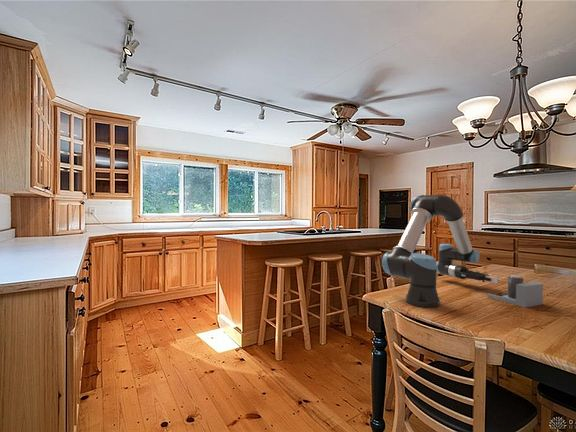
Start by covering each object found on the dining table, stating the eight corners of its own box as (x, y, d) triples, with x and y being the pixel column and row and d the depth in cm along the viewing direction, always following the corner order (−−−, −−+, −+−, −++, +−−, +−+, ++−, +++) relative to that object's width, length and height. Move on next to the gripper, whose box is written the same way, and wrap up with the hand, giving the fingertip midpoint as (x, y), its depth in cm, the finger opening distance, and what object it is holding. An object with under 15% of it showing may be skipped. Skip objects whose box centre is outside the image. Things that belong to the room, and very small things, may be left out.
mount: (524, 307, 137) (525, 286, 137) (486, 296, 154) (487, 277, 154) (542, 304, 142) (543, 283, 141) (503, 294, 158) (504, 275, 158)
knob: (518, 303, 142) (519, 278, 142) (501, 298, 149) (502, 274, 149) (529, 301, 145) (529, 277, 144) (511, 296, 152) (512, 273, 152)
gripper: (466, 277, 180) (506, 287, 158) (450, 278, 176) (489, 289, 154) (466, 265, 180) (506, 273, 158) (450, 266, 176) (489, 274, 153)
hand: (498, 281), depth 156 cm, fingers closed
